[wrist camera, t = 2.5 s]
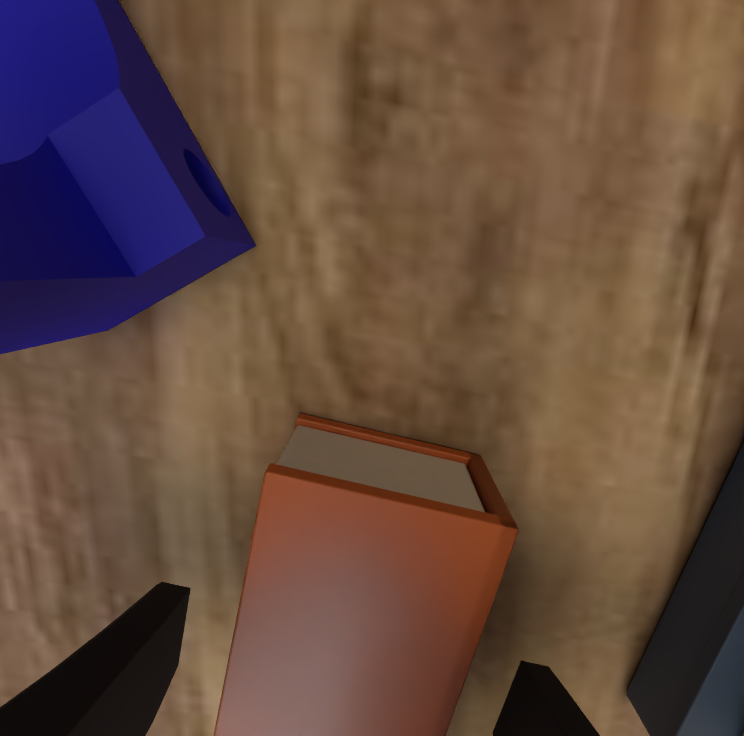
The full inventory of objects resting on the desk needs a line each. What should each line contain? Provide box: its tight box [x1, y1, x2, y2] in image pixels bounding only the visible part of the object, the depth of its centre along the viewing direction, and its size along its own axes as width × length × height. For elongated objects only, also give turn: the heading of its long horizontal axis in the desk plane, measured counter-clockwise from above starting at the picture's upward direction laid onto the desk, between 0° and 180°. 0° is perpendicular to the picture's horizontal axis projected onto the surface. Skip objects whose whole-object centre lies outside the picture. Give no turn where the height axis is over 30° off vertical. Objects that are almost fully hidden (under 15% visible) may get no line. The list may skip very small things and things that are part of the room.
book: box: [214, 414, 519, 736], centre depth 11 cm, size 8×5×3 cm, turn 167°
